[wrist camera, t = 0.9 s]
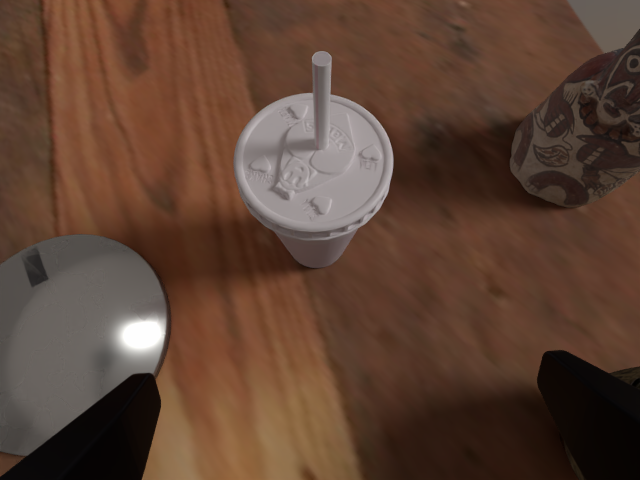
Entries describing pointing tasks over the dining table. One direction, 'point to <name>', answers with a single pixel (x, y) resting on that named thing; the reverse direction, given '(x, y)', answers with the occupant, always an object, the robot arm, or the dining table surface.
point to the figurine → (583, 132)
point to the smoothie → (314, 169)
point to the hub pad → (73, 332)
